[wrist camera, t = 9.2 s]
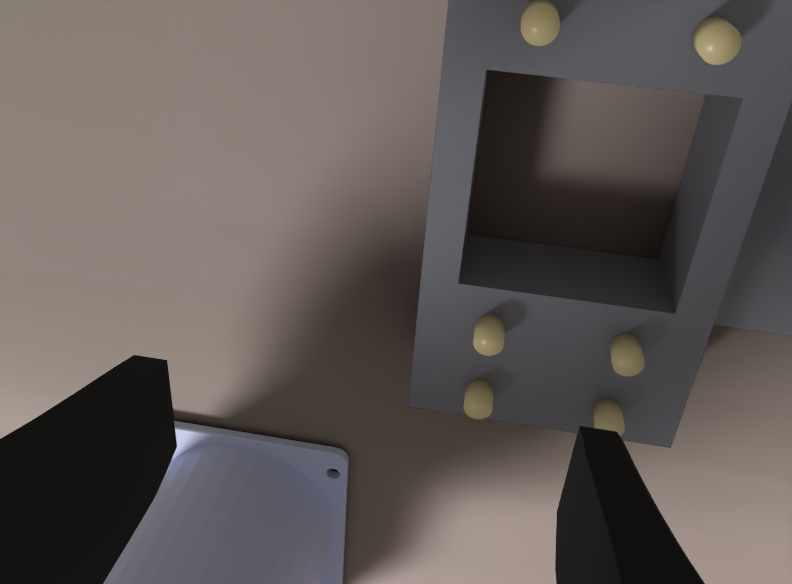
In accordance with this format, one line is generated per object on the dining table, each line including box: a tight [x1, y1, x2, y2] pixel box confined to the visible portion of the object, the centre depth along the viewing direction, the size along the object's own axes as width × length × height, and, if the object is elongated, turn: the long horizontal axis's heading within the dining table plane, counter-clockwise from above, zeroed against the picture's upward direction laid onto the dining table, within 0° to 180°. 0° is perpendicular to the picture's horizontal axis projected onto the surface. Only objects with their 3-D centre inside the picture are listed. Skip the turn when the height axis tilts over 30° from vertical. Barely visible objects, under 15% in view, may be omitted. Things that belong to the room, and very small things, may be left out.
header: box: [408, 0, 792, 448], centre depth 19 cm, size 14×8×4 cm, turn 176°
